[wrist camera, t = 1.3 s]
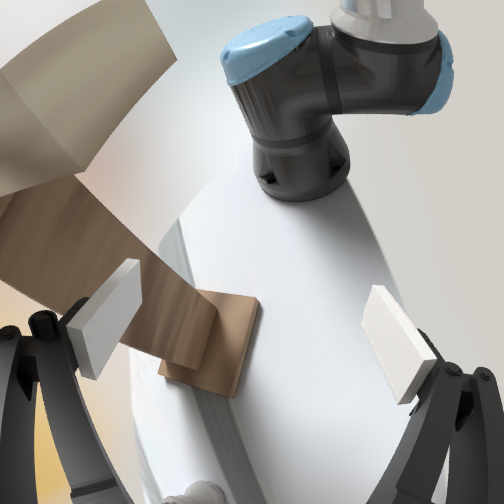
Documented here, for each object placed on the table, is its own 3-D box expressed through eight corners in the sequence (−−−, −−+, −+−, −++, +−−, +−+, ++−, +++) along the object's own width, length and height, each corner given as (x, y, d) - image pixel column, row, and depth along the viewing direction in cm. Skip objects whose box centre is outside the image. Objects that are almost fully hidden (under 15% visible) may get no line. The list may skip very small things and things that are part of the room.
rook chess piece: (222, 515, 22) (188, 536, 16) (188, 503, 24) (149, 518, 17) (229, 486, 24) (195, 503, 18) (194, 475, 26) (154, 485, 19)
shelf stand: (259, 301, 35) (87, 76, 11) (234, 397, 30) (-57, 295, 6) (190, 291, 39) (18, 125, 15) (164, 375, 34) (-66, 266, 9)
